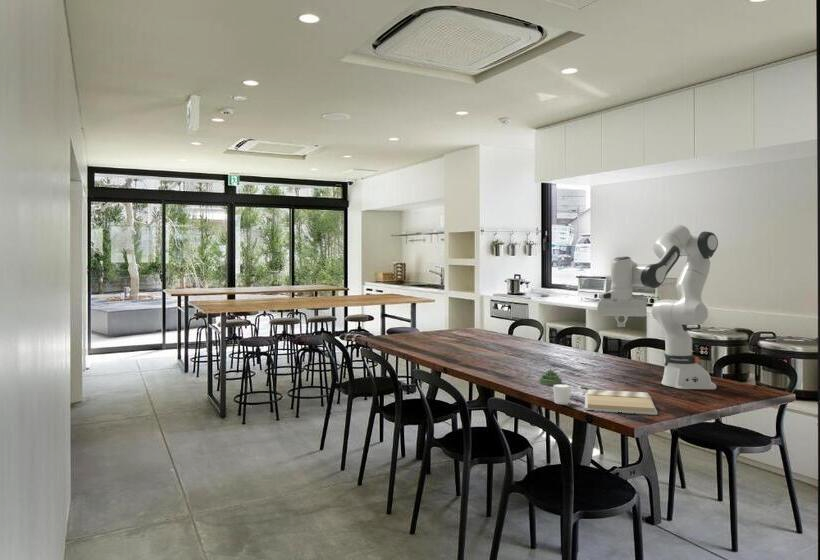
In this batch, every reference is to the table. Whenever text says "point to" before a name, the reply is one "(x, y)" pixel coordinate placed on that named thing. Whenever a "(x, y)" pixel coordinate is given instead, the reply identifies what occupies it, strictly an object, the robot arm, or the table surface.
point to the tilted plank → (618, 393)
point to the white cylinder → (561, 393)
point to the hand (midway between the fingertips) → (621, 326)
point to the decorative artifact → (550, 379)
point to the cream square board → (620, 404)
